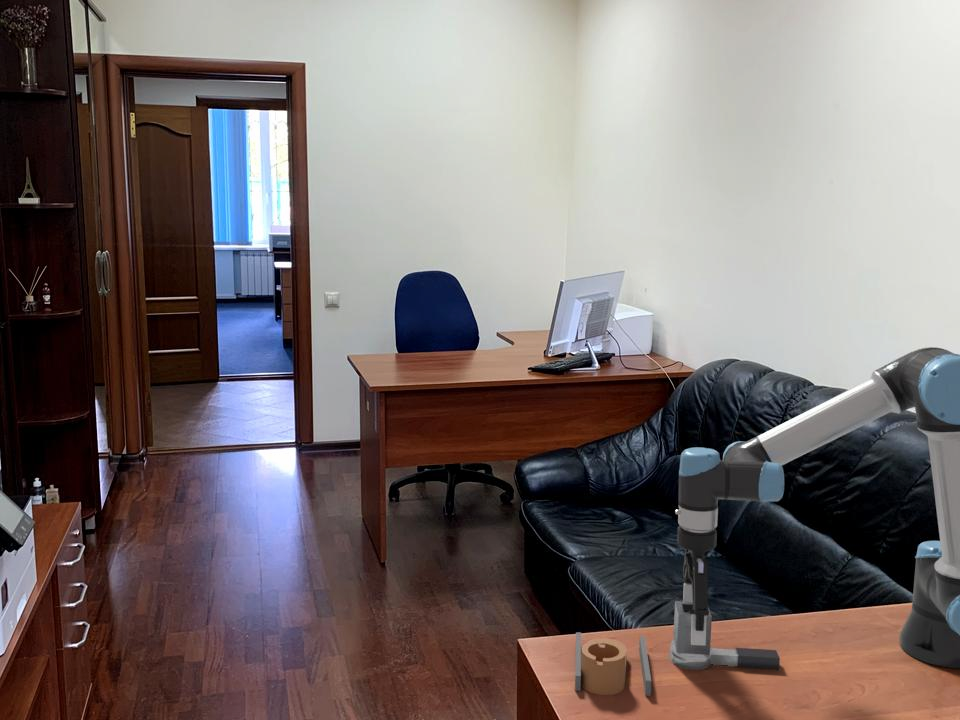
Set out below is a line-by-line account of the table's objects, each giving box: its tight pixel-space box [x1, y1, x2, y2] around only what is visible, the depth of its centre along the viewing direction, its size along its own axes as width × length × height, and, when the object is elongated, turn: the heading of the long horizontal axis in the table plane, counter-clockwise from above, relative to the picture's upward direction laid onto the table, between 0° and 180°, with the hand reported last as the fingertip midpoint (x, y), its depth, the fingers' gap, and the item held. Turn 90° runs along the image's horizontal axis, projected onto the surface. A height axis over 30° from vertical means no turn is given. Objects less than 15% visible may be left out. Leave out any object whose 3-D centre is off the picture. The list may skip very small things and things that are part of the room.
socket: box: [672, 600, 713, 655], centre depth 176 cm, size 6×6×8 cm
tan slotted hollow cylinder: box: [581, 637, 628, 696], centre depth 172 cm, size 18×8×7 cm, turn 169°
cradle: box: [574, 631, 652, 697], centre depth 172 cm, size 14×18×3 cm
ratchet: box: [669, 639, 781, 671], centre depth 176 cm, size 21×8×7 cm, turn 83°
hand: (693, 628), depth 176 cm, fingers open, 13 cm apart
